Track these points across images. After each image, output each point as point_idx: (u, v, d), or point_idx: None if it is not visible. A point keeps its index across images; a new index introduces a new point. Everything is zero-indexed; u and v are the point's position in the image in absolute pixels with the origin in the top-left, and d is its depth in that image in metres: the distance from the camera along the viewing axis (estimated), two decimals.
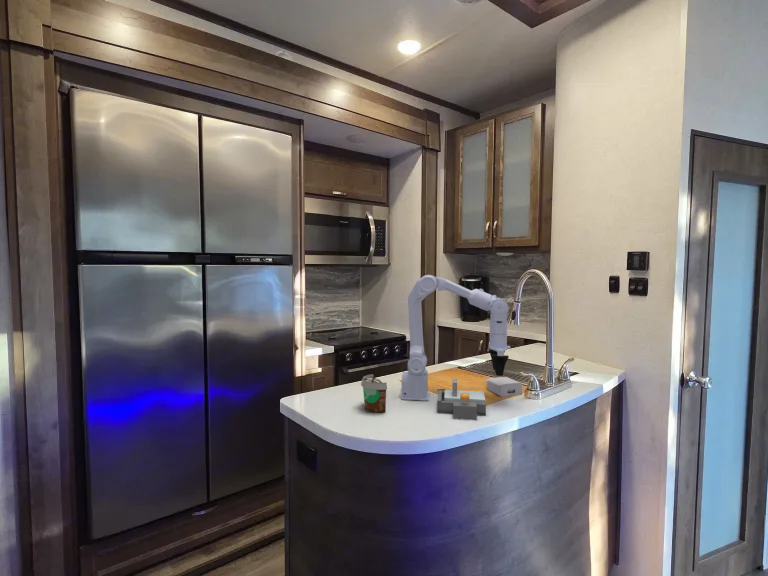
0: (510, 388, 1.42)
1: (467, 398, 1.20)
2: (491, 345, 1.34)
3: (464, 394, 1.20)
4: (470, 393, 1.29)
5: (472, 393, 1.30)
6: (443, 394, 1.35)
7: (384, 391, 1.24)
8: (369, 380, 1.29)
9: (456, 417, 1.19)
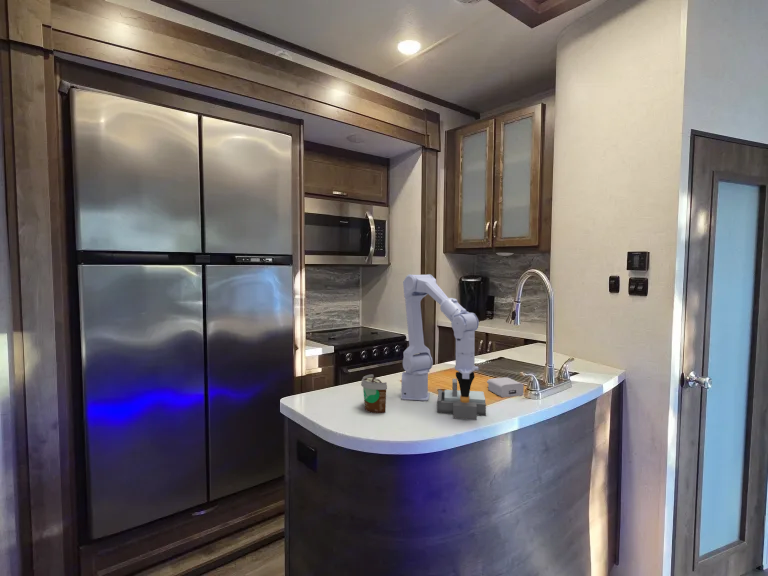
0: (511, 389, 1.41)
1: (467, 400, 1.20)
2: (457, 366, 1.19)
3: None
4: (470, 393, 1.29)
5: (472, 393, 1.30)
6: (443, 394, 1.35)
7: (384, 391, 1.24)
8: (369, 380, 1.29)
9: (456, 417, 1.19)
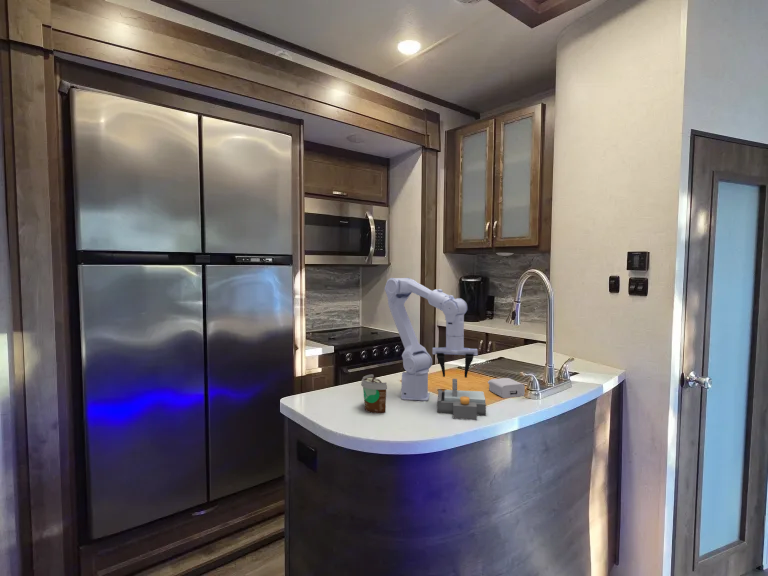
0: (512, 389, 1.40)
1: (467, 402, 1.20)
2: None
3: (464, 398, 1.20)
4: (470, 393, 1.29)
5: (472, 393, 1.30)
6: (443, 394, 1.35)
7: (384, 391, 1.24)
8: (369, 380, 1.29)
9: (456, 417, 1.19)
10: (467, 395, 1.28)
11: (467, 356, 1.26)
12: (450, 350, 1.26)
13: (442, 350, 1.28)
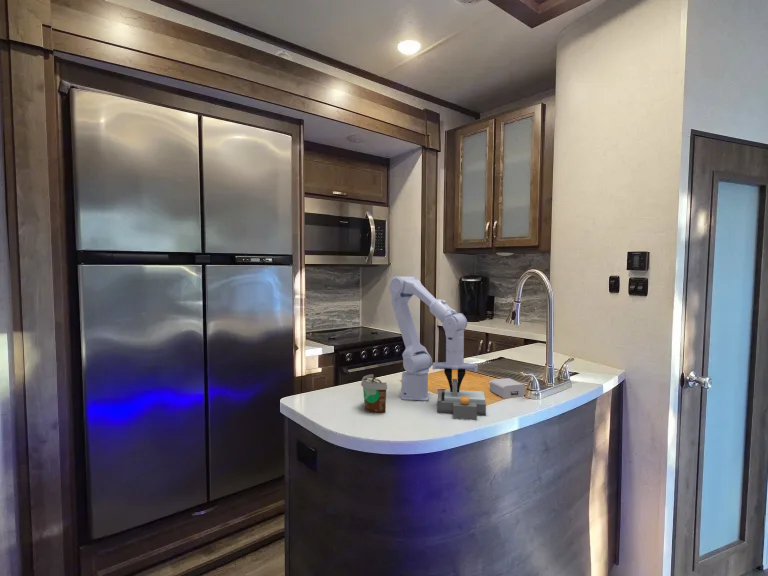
0: (513, 390, 1.40)
1: (467, 402, 1.20)
2: None
3: (464, 398, 1.20)
4: (470, 393, 1.29)
5: (472, 393, 1.30)
6: (443, 394, 1.35)
7: (384, 391, 1.24)
8: (369, 380, 1.29)
9: (456, 417, 1.19)
10: (467, 395, 1.28)
11: None
12: (450, 365, 1.27)
13: (442, 365, 1.28)
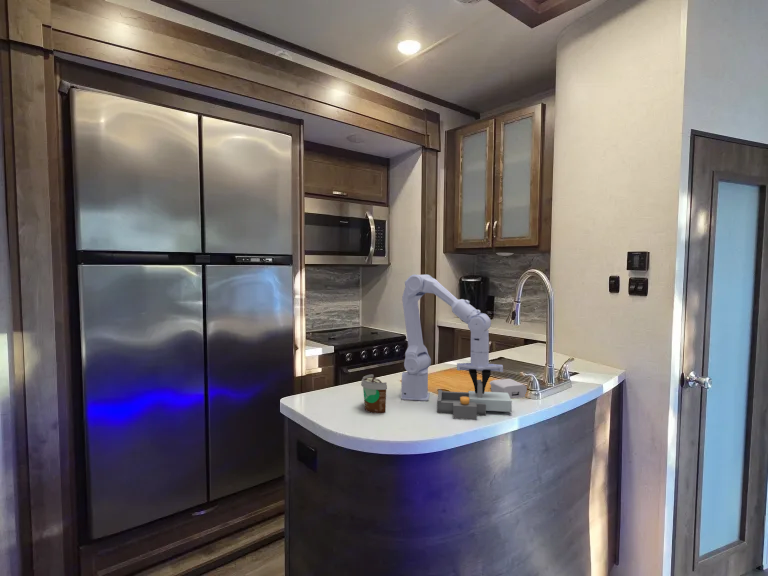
0: (514, 390, 1.39)
1: (467, 402, 1.20)
2: None
3: (464, 398, 1.20)
4: (495, 395, 1.28)
5: (496, 394, 1.29)
6: (443, 394, 1.35)
7: (384, 391, 1.24)
8: (369, 380, 1.29)
9: (456, 417, 1.19)
10: (492, 396, 1.26)
11: None
12: (475, 366, 1.25)
13: (467, 366, 1.26)
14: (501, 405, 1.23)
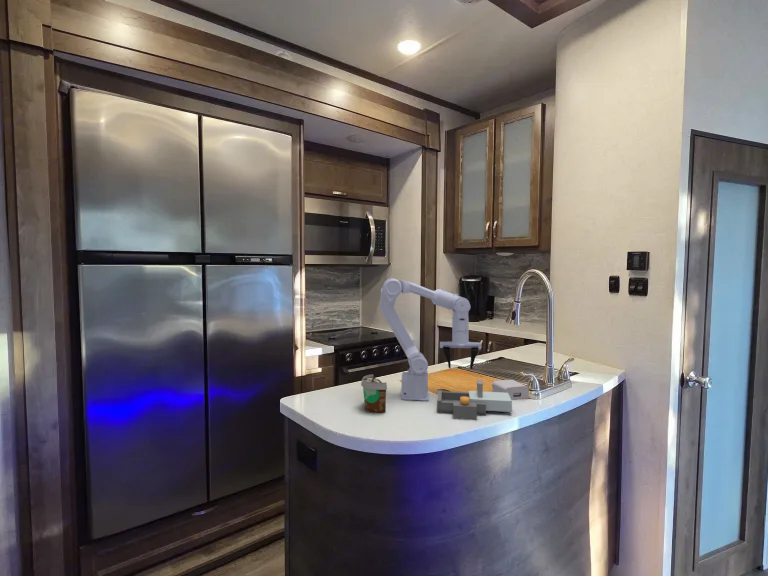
0: (516, 391, 1.38)
1: (467, 402, 1.20)
2: None
3: (464, 398, 1.20)
4: (496, 395, 1.28)
5: (496, 394, 1.29)
6: (443, 394, 1.35)
7: (384, 391, 1.24)
8: (369, 380, 1.29)
9: (456, 417, 1.19)
10: (492, 396, 1.26)
11: (472, 349, 1.38)
12: (456, 344, 1.38)
13: (449, 344, 1.39)
14: (502, 405, 1.23)
